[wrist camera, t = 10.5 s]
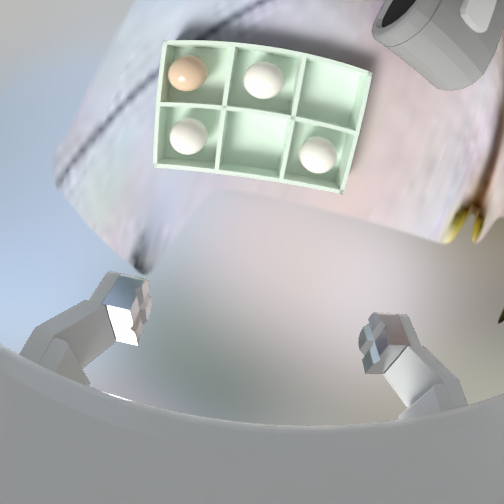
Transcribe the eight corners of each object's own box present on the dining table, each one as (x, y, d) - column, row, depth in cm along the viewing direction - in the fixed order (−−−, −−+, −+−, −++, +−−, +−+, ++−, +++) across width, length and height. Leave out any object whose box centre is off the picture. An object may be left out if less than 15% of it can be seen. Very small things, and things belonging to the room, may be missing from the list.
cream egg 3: (335, 137, 31) (345, 145, 27) (327, 170, 33) (335, 182, 30) (300, 130, 31) (306, 136, 27) (293, 163, 33) (298, 174, 29)
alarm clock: (410, -44, 14) (459, -71, 2) (460, -3, 16) (518, -12, 4) (358, 43, 24) (410, 27, 13) (416, 86, 26) (482, 98, 15)
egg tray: (362, 73, 26) (372, 72, 23) (335, 184, 35) (342, 194, 32) (172, 44, 25) (163, 40, 22) (162, 159, 34) (153, 167, 31)
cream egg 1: (212, 117, 30) (205, 121, 26) (208, 151, 32) (201, 160, 29) (177, 114, 30) (165, 119, 26) (174, 148, 32) (163, 157, 29)
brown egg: (218, 57, 25) (193, 52, 21) (212, 92, 27) (188, 92, 24) (187, 57, 26) (162, 54, 23) (183, 90, 29) (158, 91, 25)
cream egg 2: (285, 66, 26) (289, 63, 23) (279, 101, 29) (282, 103, 25) (247, 61, 26) (245, 57, 22) (241, 95, 28) (239, 96, 25)
